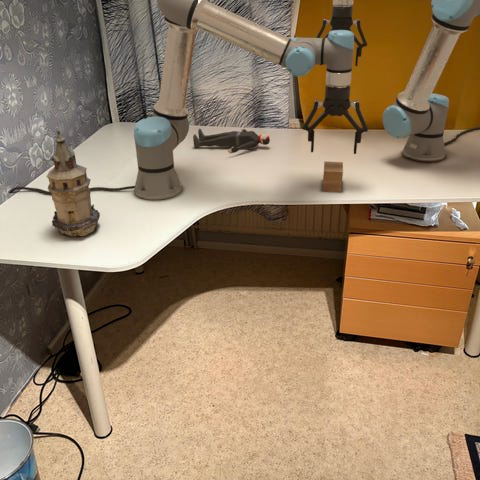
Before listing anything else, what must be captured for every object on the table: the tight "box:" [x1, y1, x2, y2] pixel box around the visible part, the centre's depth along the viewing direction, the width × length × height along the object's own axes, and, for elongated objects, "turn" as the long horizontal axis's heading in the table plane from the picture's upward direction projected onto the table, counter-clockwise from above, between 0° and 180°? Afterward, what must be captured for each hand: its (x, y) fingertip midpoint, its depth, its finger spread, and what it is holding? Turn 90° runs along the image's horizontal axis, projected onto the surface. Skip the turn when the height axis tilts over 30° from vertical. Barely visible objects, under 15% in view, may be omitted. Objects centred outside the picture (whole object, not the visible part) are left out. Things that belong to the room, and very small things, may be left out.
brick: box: [321, 160, 344, 193], centre depth 178 cm, size 9×6×7 cm
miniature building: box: [46, 129, 101, 237], centre depth 148 cm, size 13×14×30 cm
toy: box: [192, 128, 271, 155], centre depth 214 cm, size 26×6×30 cm
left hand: (333, 151), depth 173 cm, fingers open, 13 cm apart
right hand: (338, 65), depth 208 cm, fingers open, 13 cm apart
